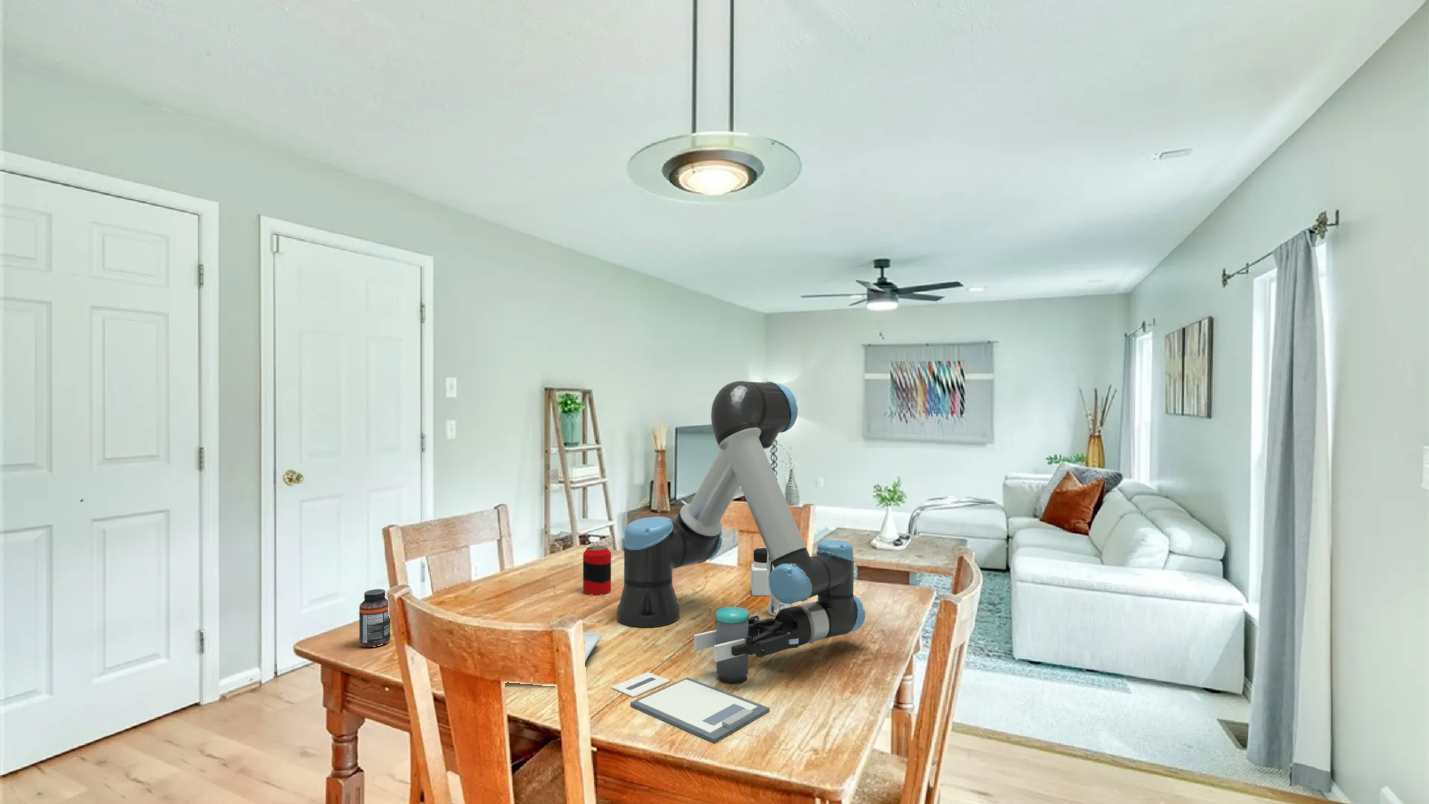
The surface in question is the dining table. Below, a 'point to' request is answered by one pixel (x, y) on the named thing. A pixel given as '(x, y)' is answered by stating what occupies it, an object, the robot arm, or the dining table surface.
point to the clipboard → (700, 709)
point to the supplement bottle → (374, 619)
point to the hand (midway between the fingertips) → (704, 648)
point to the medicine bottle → (759, 573)
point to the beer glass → (774, 603)
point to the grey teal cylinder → (729, 629)
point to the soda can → (597, 570)
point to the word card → (640, 684)
